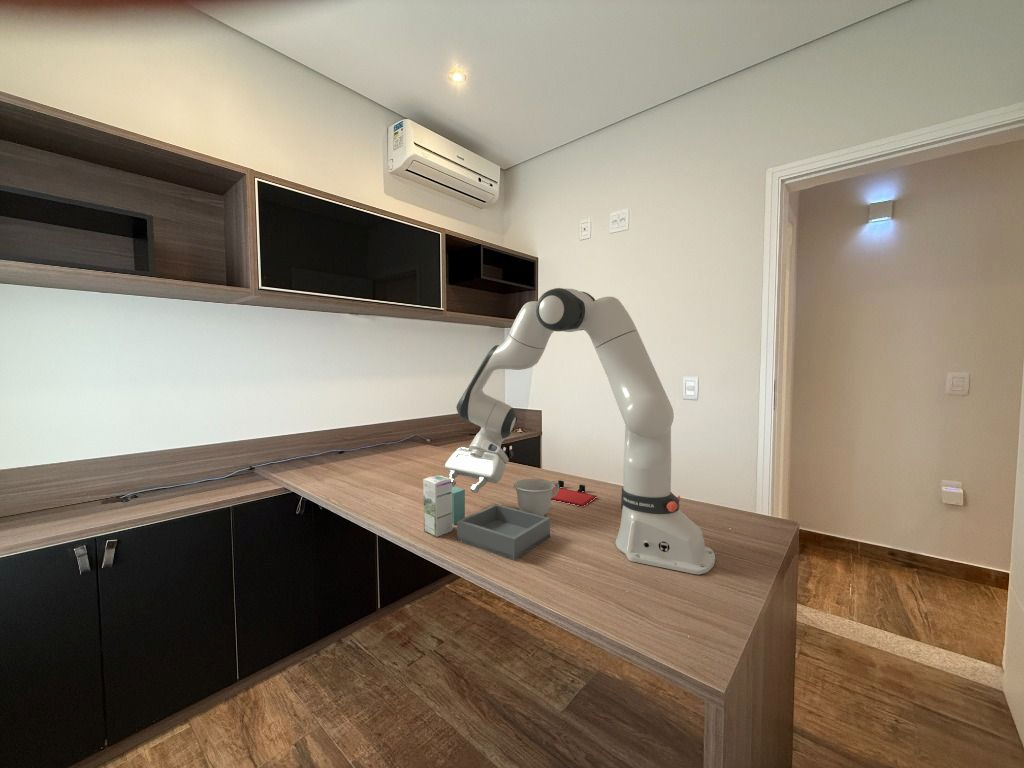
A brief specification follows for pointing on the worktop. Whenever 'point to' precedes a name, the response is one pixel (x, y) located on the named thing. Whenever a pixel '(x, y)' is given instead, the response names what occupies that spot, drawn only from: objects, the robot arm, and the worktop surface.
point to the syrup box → (437, 505)
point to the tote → (504, 530)
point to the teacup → (535, 495)
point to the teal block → (458, 504)
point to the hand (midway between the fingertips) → (461, 488)
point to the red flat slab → (572, 495)
